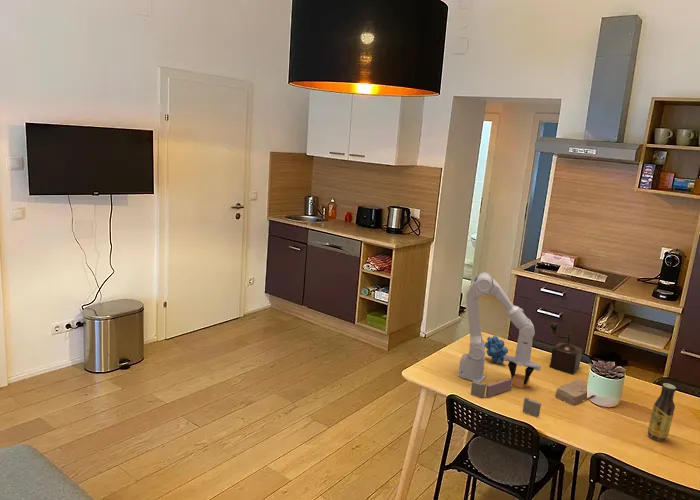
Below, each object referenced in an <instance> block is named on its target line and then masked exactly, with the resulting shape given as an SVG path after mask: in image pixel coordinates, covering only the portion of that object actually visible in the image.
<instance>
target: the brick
mask: <svg viewBox="0 0 700 500" xmlns="http://www.w3.org/2000/svg"><path fill="white" fill-rule="evenodd" d="M587 383H589V382H588V381H585V380H582V379H579V378H576V379H574V380H572V381H570V382H568V383H565V384H563V385H560V386H559V387H557V388H556V391H555V395H554V396H555V398H556V399H557V400H560V401H562V402H564V401H565V402H564V403H566V404H568V405H571V406H576V405H578V404H579V402H580V403H582V402H584V401H583V400H585V401H586V400H588V399H587Z"/></svg>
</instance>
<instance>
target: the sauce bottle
mask: <svg viewBox="0 0 700 500" xmlns="http://www.w3.org/2000/svg"><path fill="white" fill-rule="evenodd" d="M676 391H677V387H676V386H675V385H674V384H671V383H668V382H667V383H666V382H664V383H662V386H661V392H660V395H659V396H658V398H657V399H656V401H655V402H654V403H653V406H652V407H653V408H652V411H651V415H650V418H649V419H650V420H649V423H648V427H647V436H648V437H649V438H650V439H653V440H654V441H658V442H659V441H660V442H665V441H667V440H668V437H669V433H670V430H671V426H672V422H673V417H674V412H675V407H676V405H675V403H674V397H675V396H674V395H675V392H676Z"/></svg>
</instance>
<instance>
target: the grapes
mask: <svg viewBox="0 0 700 500" xmlns="http://www.w3.org/2000/svg"><path fill="white" fill-rule="evenodd" d="M486 340H487V341H486V342H484V343H485V349H487V350H486V355H487V356H488V357H491V361H492V362H493V363H498V364H499V365H502V364H504V362H505V361H503V360H504V356H505V355H507V354H508V352H509V349H508V347H507V346H505V341H504V340H503V339H499V337H498V336H497V335H493V336H488V337H487V338H486Z"/></svg>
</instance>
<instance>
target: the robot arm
mask: <svg viewBox="0 0 700 500" xmlns="http://www.w3.org/2000/svg"><path fill="white" fill-rule="evenodd" d="M487 293H488V295H491V296H494V297H495V298H497V300H498V301H499V302H500V303H501V305H503V308H504V309H506V316H507V318H509V320H510V321H511V323H513V325H514V326H515V328H517V329H518V332H519V333H518V337H517V341H516V342H517V343H516V350H515V356H513V355H512V356H511V355H507V354H506V355H505V356H504V360H503V361H504V362H508V364H507V367H508V369H509V372H510V378H511V379H512V378H513V376H514V375H515V374H516V373H517V372H516V370H517V366H519V367H526V368H525V370H524V375H525V379H524V384H525V386H526V385H527V384H528V383H527V381H528V379H529V377H530V378H531V375H532V374H533V372H534V370H535V371H537V372H539V371H540V370H541V368H542V367H541V366H542V365H541V364H538V363H536V362H534V361H532V360H531V355H532V354H531V353H532V347H533V339H534V337H535V334H536V331H535V326H534V324H533V322H532V321H531V319H530V318H528V317H527V315H526V314H525V313H524V309H523V308H520V306H518V305H514V303H513V302H512V300H511V299H510V298H509V297H508V295H507V294H506V292H505V291H504V290H503V288H502V287H501V285H500V284H499V283H498V282H497V280H496V279H494V278H493V277H492V275H491V274H490V273H489V272H485V271H484V272H480V273H479V274H477V275H476V276H475V277H474V279H473V280H472V283H471V284H470V286H469V288H468V290H466V294H465V295H466V297H465V298H466V309H467V318H468V328H469V338H470V339H469V340H470V341H469V350H468V353H463V354H462V355H461V357H460V361H459V369H458V374H457V377H459V378H462V379H466V380H468V381H472V382H473V381H476V382H479V383H481V382H482V381H483V380H484V379H485V378H486V377H487V375H485V374H484V369H485V360H486V356H485V355H486V350H485V349H486V347H485V343H486V342H485V341H484V339H483V336H482V335H483V334H482V328H481V327H482V326H481V317H480V316H481V315H480V307H479V306H480V305H479V299H480V298H481V296H482V295H485V294H487ZM529 380H530V379H529Z"/></svg>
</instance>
